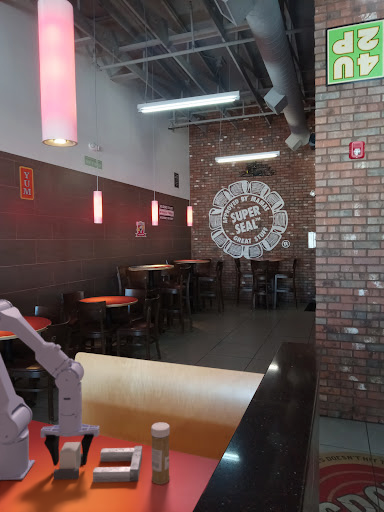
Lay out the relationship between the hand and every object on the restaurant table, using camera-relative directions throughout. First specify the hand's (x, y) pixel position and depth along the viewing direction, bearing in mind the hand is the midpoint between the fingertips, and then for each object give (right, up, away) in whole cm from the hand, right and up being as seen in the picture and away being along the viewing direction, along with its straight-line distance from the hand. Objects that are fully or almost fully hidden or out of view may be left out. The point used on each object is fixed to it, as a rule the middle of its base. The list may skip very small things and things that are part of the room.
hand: (70, 463), depth 96 cm
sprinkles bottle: (+24, -2, -4) cm, 24 cm away
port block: (+12, -2, 0) cm, 12 cm away
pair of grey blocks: (0, -2, 0) cm, 2 cm away
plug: (0, -2, 0) cm, 2 cm away
